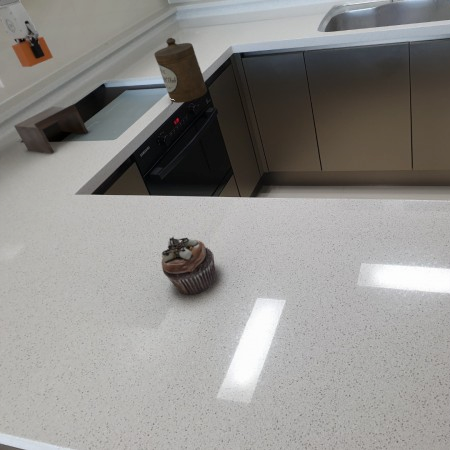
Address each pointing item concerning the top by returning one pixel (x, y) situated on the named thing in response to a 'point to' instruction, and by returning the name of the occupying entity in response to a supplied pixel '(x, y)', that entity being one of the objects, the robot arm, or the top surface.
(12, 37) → the robot arm
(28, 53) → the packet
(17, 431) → the top surface
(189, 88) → the wooden container
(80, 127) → the shelf
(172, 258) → the cupcake
